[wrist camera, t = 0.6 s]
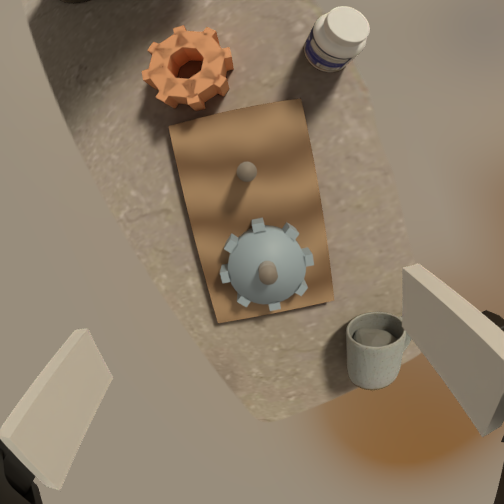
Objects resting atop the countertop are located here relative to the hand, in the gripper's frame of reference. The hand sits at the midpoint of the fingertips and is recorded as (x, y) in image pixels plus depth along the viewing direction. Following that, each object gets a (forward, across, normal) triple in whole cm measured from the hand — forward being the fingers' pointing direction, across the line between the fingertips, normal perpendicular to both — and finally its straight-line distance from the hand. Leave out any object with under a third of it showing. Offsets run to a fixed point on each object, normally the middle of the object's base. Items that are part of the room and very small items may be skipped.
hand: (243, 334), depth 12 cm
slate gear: (+22, +1, -5) cm, 23 cm away
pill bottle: (+24, +13, +17) cm, 32 cm away
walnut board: (+24, +1, 0) cm, 24 cm away
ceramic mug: (+24, +14, -19) cm, 33 cm away
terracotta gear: (+24, -2, +17) cm, 29 cm away
